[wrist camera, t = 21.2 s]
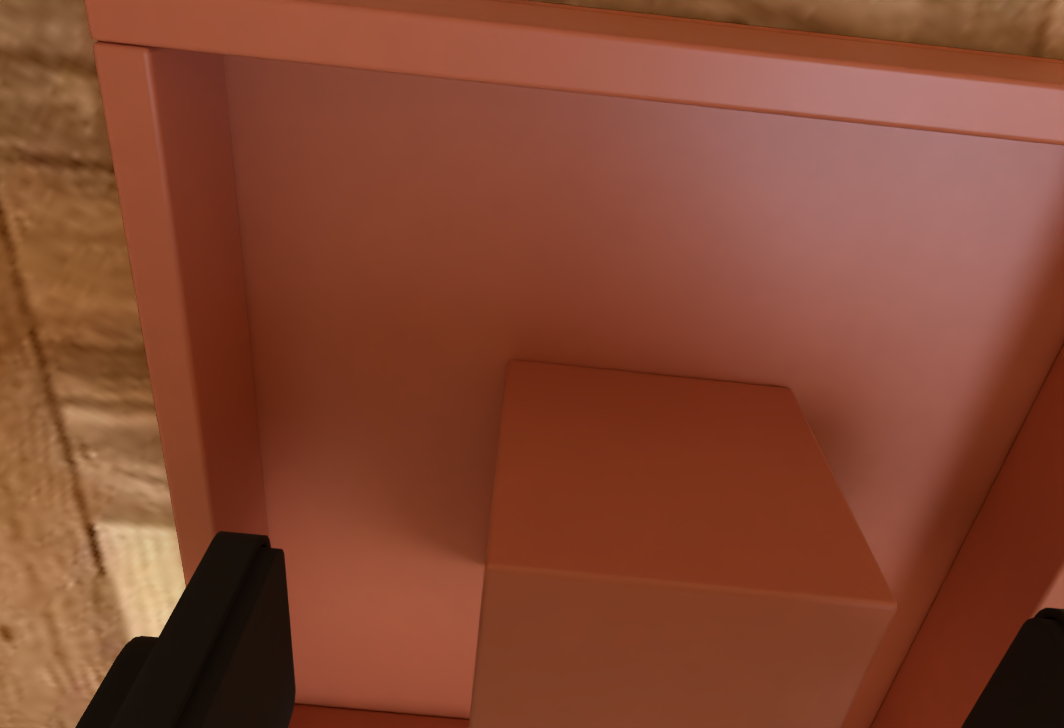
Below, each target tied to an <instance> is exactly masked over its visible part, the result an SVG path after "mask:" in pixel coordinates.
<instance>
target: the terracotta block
mask: <svg viewBox="0 0 1064 728" xmlns="http://www.w3.org/2000/svg"><path fill="white" fill-rule="evenodd" d="M896 611H897V602H896V600H895V598H894V596H893V594H892V592H891V590H890V588H889V586H888V584H887V582H886V580H885V578H884V576H883V574H882V571H881V569H880V567H879V565H878V563H877V561H876V559H875V557H874V555H873V553H872V551H871V549H870V547H869V545H868V543H867V541H866V539H865V537H864V535H863V533H862V531H861V529H860V527H859V525H858V523H857V521H856V519H855V517H854V515H853V513H852V511H851V509H850V507H849V505H848V503H847V501H846V499H845V497H844V495H843V493H842V491H841V488H840V486H839V484H838V482H837V480H836V478H835V476H834V474H833V472H832V470H831V468H830V466H829V464H828V462H827V460H826V458H825V456H824V454H823V452H822V450H821V448H820V446H819V444H818V442H817V440H816V438H815V436H814V434H813V432H812V430H811V428H810V426H809V424H808V422H807V420H806V418H805V416H804V414H803V412H802V410H801V408H800V405H799V403H798V401H797V399H796V397H795V395H794V393H793V391H792V390H791V389H789V388H782V387H772V386H763V385H753V384H743V383H734V382H724V381H714V380H705V379H695V378H685V377H676V376H666V375H656V374H647V373H637V372H627V371H618V370H608V369H598V368H589V367H579V366H569V365H560V364H550V363H540V362H531V361H521V360H510V361H509V362H508V364H507V370H506V379H505V388H504V397H503V406H502V415H501V424H500V433H499V442H498V451H497V460H496V469H495V478H494V487H493V496H492V505H491V514H490V523H489V532H488V541H487V550H486V559H485V568H484V578H483V588H482V598H481V608H480V618H479V628H478V639H477V649H476V659H475V669H474V679H473V689H472V699H471V709H470V719H469V728H841V726H842V724H843V721H844V719H845V717H846V715H847V713H848V711H849V709H850V707H851V705H852V703H853V701H854V698H855V696H856V694H857V692H858V690H859V688H860V686H861V684H862V682H863V680H864V678H865V676H866V673H867V671H868V669H869V667H870V665H871V663H872V661H873V659H874V657H875V655H876V653H877V651H878V648H879V646H880V644H881V642H882V640H883V638H884V636H885V634H886V632H887V630H888V628H889V626H890V623H891V621H892V619H893V617H894V615H895V613H896Z"/></svg>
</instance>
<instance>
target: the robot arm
mask: <svg viewBox="0 0 1064 728" xmlns="http://www.w3.org/2000/svg"><path fill="white" fill-rule="evenodd" d="M295 694H296V686H295V674H294V662H293V650H292V638H291V626H290V614H289V602H288V590H287V578H286V566H285V556H284V551H283V549H278V548H271V544H270V539H269V538H268V536H267V535H258V534H247V533H236V532H226V531H220V532H218V533H217V534H216V535H215V537H214V538H213V540H212V541H211V543H210V545H209V547H208V548H207V550H206V552H205V554H204V556H203V558H202V559H201V561H200V563H199V565H198V567H197V568H196V570H195V572H194V574H193V576H192V578H191V579H190V581H189V583H188V585H187V587H186V589H185V590H184V592H183V594H182V596H181V598H180V599H179V601H178V603H177V605H176V607H175V609H174V610H173V612H172V614H171V616H170V618H169V620H168V621H167V623H166V625H165V627H164V629H163V630H162V632H161V634H160V636H159V638H158V637H147V636H140V637H135V638H133V639H132V640H131V641H130V642H128V643H127V644H126V645H125V647H124V648H123V649H122V651H121V652H120V654H119V655H118V656H117V658H116V660H115V661H114V663H113V665H112V666H111V668H110V670H109V672H108V673H107V675H106V677H105V678H104V680H103V682H102V683H101V685H100V687H99V688H98V690H97V692H96V694H95V695H94V697H93V699H92V700H91V702H90V704H89V705H88V707H87V709H86V711H85V712H84V714H83V716H82V717H81V719H80V721H79V722H78V724H77V726H76V727H75V728H288V726H289V723H290V720H291V717H292V713H293V708H294V703H295ZM961 728H1064V609H1058V608H1044V609H1042V610H1040V611H1039V612H1038V613H1037V614H1036V615H1035V616H1034V618H1030V619H1028V620H1026V621H1025V622H1024V624H1023V625H1022V627H1021V628H1020V630H1019V632H1018V633H1017V635H1016V637H1015V638H1014V640H1013V642H1012V643H1011V645H1010V647H1009V648H1008V650H1007V652H1006V653H1005V655H1004V657H1003V658H1002V660H1001V662H1000V663H999V665H998V667H997V668H996V670H995V672H994V673H993V675H992V677H991V678H990V680H989V682H988V683H987V685H986V687H985V688H984V690H983V692H982V693H981V695H980V697H979V698H978V700H977V702H976V703H975V705H974V707H973V708H972V710H971V712H970V713H969V715H968V717H967V718H966V720H965V722H964V723H963V725H962V727H961Z"/></svg>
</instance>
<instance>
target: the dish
mask: <svg viewBox="0 0 1064 728" xmlns="http://www.w3.org/2000/svg"><path fill="white" fill-rule="evenodd" d="M84 1H85V7H86V13H87V19H88V25H89V30H90V35H91V37H92V38H93V39H95V40H97V41H98V42H96V43H94V47H93V51H94V57H95V63H96V69H97V74H98V80H99V86H100V92H101V98H102V103H103V109H104V115H105V121H106V126H107V132H108V138H109V144H110V150H111V155H112V161H113V167H114V173H115V179H116V184H117V190H118V196H119V202H120V207H121V213H122V219H123V225H124V231H125V236H126V242H127V248H128V254H129V260H130V265H131V271H132V277H133V283H134V288H135V294H136V300H137V306H138V312H139V317H140V323H141V329H142V335H143V341H144V346H145V352H146V358H147V364H148V369H149V375H150V381H151V387H152V393H153V398H154V404H155V410H156V416H157V422H158V427H159V433H160V439H161V445H162V450H163V456H164V462H165V468H166V474H167V479H168V485H169V491H170V497H171V503H172V508H173V514H174V520H175V526H176V531H177V537H178V543H179V549H180V555H181V560H182V566H183V572H184V578H185V584H186V587H187V585H188V583H189V581H190V579H191V578H192V576H193V574H194V572H195V570H196V568H197V567H198V565H199V563H200V561H201V559H202V558H203V556H204V554H205V552H206V550H207V548H208V547H209V545H210V543H211V541H212V540H213V538H214V537H215V535H216V534H217V533H218V532H220V531H226V532H236V533H247V534H258V535H267V536H268V538H269V539H270V544H271V548H278V549H283V551H284V556H285V566H286V578H287V590H288V602H289V614H290V626H291V638H292V650H293V662H294V674H295V686H296V694H295V703H294V708H293V713H292V717H291V720H290V723H289V726H288V728H469V719H470V709H471V699H472V689H473V679H474V669H475V659H476V649H477V639H478V628H479V618H480V608H481V598H482V588H483V578H484V568H485V559H486V550H487V541H488V532H489V523H490V514H491V505H492V496H493V487H494V478H495V469H496V460H497V451H498V442H499V433H500V424H501V415H502V406H503V397H504V388H505V379H506V370H507V364H508V362H509V361H510V360H521V361H531V362H540V363H550V364H560V365H569V366H579V367H589V368H598V369H608V370H618V371H627V372H637V373H647V374H656V375H666V376H676V377H685V378H695V379H705V380H714V381H724V382H734V383H743V384H753V385H763V386H772V387H782V388H789V389H791V390H792V391H793V393H794V395H795V397H796V399H797V401H798V403H799V405H800V408H801V410H802V412H803V414H804V416H805V418H806V420H807V422H808V424H809V426H810V428H811V430H812V432H813V434H814V436H815V438H816V440H817V442H818V444H819V446H820V448H821V450H822V452H823V454H824V456H825V458H826V460H827V462H828V464H829V466H830V468H831V470H832V472H833V474H834V476H835V478H836V480H837V482H838V484H839V486H840V488H841V491H842V493H843V495H844V497H845V499H846V501H847V503H848V505H849V507H850V509H851V511H852V513H853V515H854V517H855V519H856V521H857V523H858V525H859V527H860V529H861V531H862V533H863V535H864V537H865V539H866V541H867V543H868V545H869V547H870V549H871V551H872V553H873V555H874V557H875V559H876V561H877V563H878V565H879V567H880V569H881V571H882V574H883V576H884V578H885V580H886V582H887V584H888V586H889V588H890V590H891V592H892V594H893V596H894V598H895V600H896V602H897V611H896V613H895V615H894V617H893V619H892V621H891V623H890V626H889V628H888V630H887V632H886V634H885V636H884V638H883V640H882V642H881V644H880V646H879V648H878V651H877V653H876V655H875V657H874V659H873V661H872V663H871V665H870V667H869V669H868V671H867V673H866V676H865V678H864V680H863V682H862V684H861V686H860V688H859V690H858V692H857V694H856V696H855V698H854V701H853V703H852V705H851V707H850V709H849V711H848V713H847V715H846V717H845V719H844V721H843V724H842V726H841V728H961V727H962V725H963V723H964V722H965V720H966V718H967V717H968V715H969V713H970V712H971V710H972V708H973V707H974V705H975V703H976V702H977V700H978V698H979V697H980V695H981V693H982V692H983V690H984V688H985V687H986V685H987V683H988V682H989V680H990V678H991V677H992V675H993V673H994V672H995V670H996V668H997V667H998V665H999V663H1000V662H1001V660H1002V658H1003V657H1004V655H1005V653H1006V652H1007V650H1008V648H1009V647H1010V645H1011V643H1012V642H1013V640H1014V638H1015V637H1016V635H1017V633H1018V632H1019V630H1020V628H1021V627H1022V625H1023V624H1024V622H1025V621H1026V620H1028V619H1030V618H1034V616H1035V615H1036V614H1037V613H1038V612H1039V611H1040V610H1042V609H1044V608H1058V609H1064V60H1058V59H1049V58H1040V57H1031V56H1022V55H1013V54H1004V53H995V52H986V51H977V50H968V49H959V48H950V47H941V46H932V45H923V44H914V43H905V42H896V41H887V40H878V39H869V38H860V37H851V36H842V35H833V34H824V33H815V32H806V31H797V30H788V29H779V28H770V27H761V26H752V25H743V24H734V23H725V22H716V21H707V20H698V19H689V18H680V17H671V16H662V15H653V14H644V13H635V12H626V11H617V10H608V9H599V8H590V7H581V6H572V5H563V4H554V3H545V2H536V1H527V0H84Z"/></svg>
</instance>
